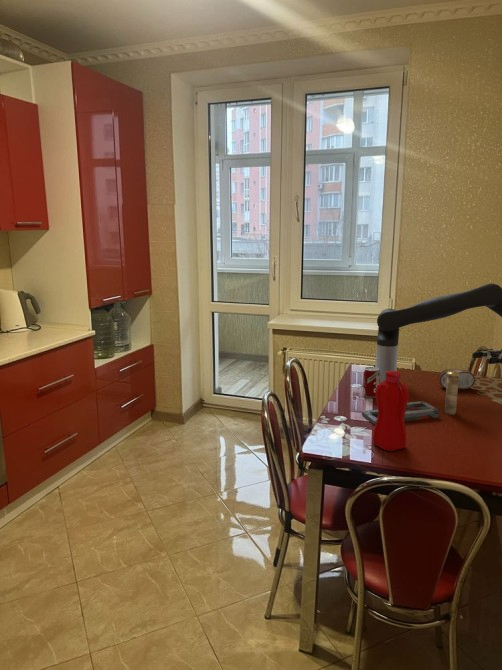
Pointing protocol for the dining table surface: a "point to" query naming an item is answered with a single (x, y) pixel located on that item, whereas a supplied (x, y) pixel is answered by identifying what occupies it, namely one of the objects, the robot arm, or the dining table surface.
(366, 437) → the dining table surface
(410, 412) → the grey ladder frame
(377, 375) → the soda can
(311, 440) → the dining table surface
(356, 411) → the dining table surface
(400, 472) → the dining table surface
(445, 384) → the tin
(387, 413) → the water bottle
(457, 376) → the pin
